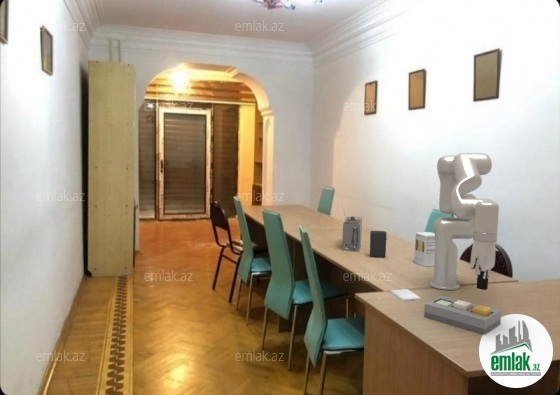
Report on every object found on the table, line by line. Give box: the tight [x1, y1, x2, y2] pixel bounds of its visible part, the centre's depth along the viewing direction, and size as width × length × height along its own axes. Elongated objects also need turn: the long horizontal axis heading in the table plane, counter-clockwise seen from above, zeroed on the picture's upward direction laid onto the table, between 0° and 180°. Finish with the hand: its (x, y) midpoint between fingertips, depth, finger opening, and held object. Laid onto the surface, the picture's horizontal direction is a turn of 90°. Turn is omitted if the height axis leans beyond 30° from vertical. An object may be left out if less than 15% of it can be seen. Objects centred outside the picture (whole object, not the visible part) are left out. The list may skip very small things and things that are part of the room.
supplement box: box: [413, 231, 435, 268], centre depth 245 cm, size 10×9×17 cm
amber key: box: [473, 304, 492, 316], centre depth 159 cm, size 5×5×2 cm
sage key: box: [436, 300, 453, 306], centre depth 169 cm, size 5×5×2 cm
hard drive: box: [389, 288, 423, 302], centre depth 191 cm, size 2×8×12 cm
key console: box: [423, 295, 502, 336], centre depth 164 cm, size 14×22×5 cm, turn 44°
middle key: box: [453, 299, 473, 311], centre depth 164 cm, size 5×5×2 cm
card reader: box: [369, 230, 388, 259], centre depth 260 cm, size 9×4×15 cm, turn 80°
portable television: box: [341, 203, 363, 252], centre depth 285 cm, size 12×24×30 cm, turn 167°
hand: (482, 288), depth 158 cm, fingers closed
